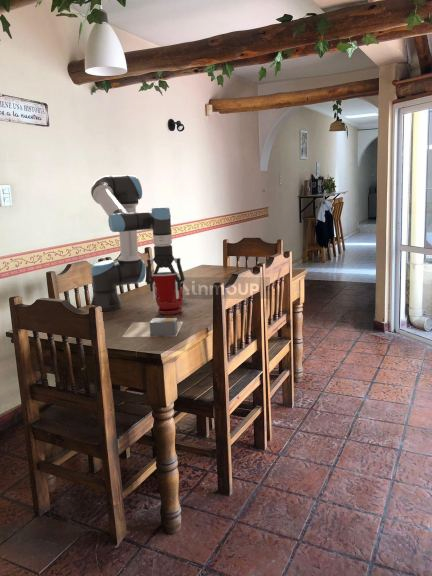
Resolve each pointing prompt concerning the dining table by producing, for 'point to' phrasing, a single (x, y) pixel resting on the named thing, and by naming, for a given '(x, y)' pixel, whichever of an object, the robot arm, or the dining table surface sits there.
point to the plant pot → (170, 304)
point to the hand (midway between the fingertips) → (166, 298)
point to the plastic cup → (165, 285)
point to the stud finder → (163, 327)
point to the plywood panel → (143, 330)
